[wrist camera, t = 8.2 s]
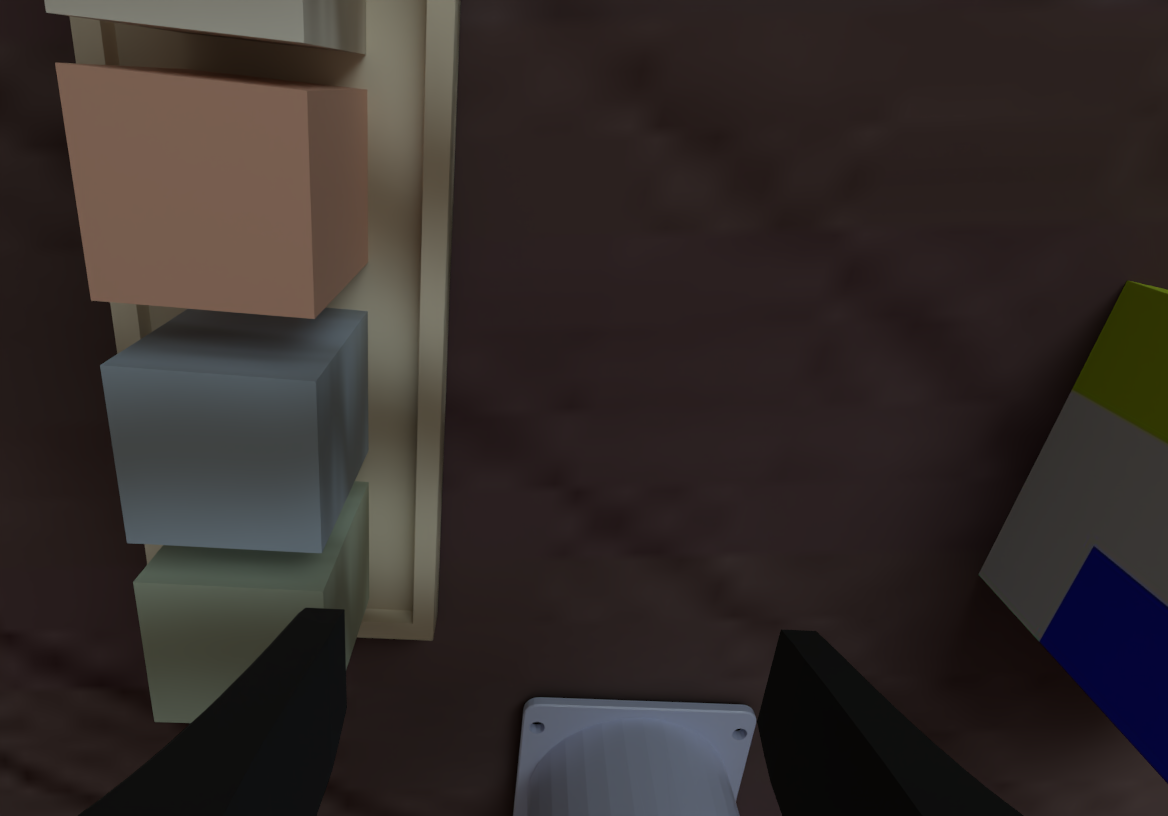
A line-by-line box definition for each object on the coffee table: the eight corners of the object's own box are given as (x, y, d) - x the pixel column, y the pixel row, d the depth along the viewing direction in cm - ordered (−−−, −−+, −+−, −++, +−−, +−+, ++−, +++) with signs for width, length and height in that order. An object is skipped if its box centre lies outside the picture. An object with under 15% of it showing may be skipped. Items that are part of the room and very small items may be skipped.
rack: (437, 615, 24) (410, 759, 19) (174, 602, 23) (71, 750, 18) (480, -528, 14) (448, -889, 9) (17, -617, 13) (-318, -1074, 8)
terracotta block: (368, 262, 19) (314, 319, 14) (201, 246, 18) (90, 300, 14) (367, 89, 17) (307, 90, 13) (185, 68, 17) (54, 61, 12)
